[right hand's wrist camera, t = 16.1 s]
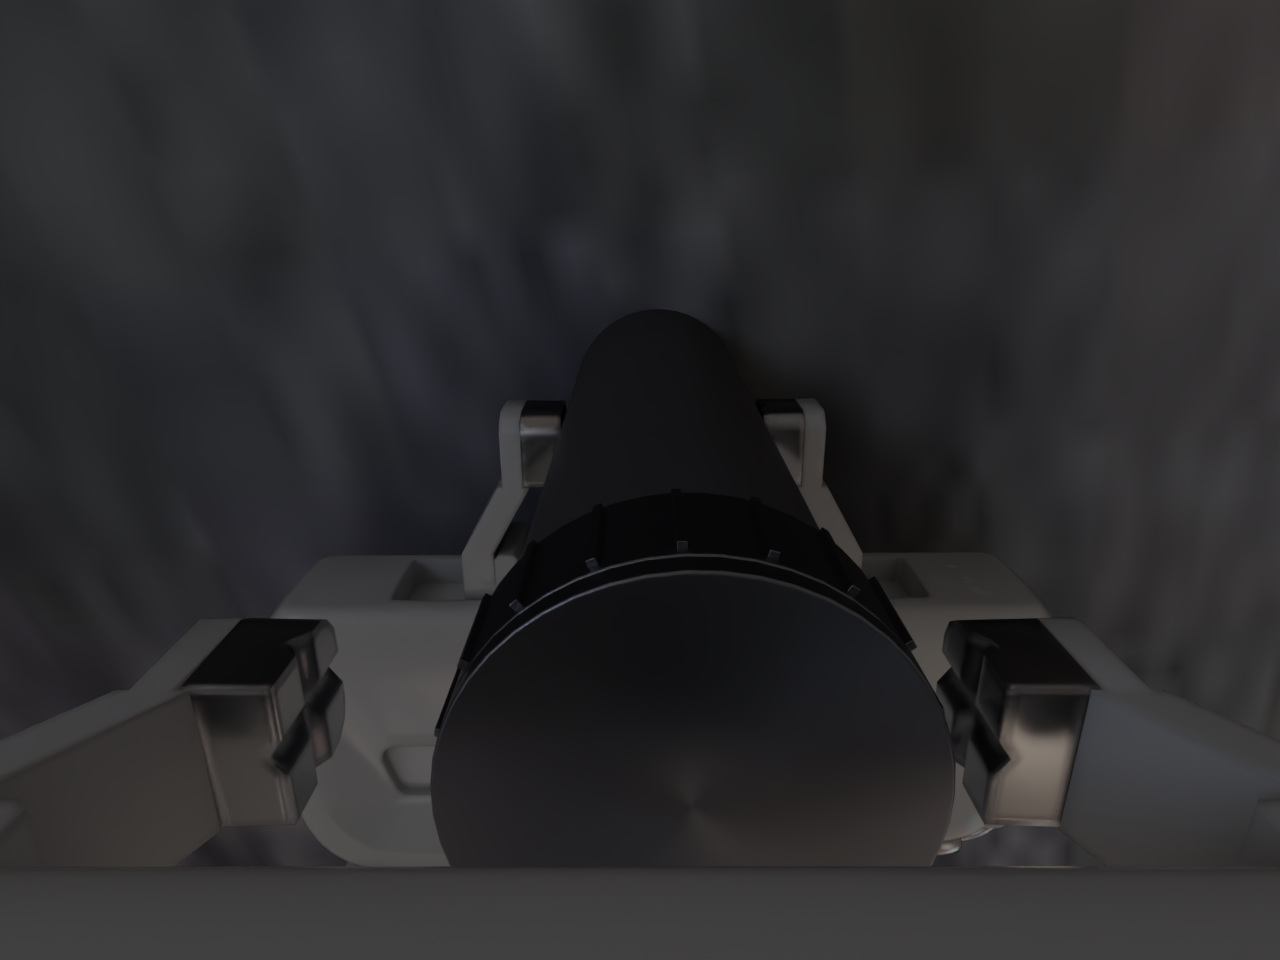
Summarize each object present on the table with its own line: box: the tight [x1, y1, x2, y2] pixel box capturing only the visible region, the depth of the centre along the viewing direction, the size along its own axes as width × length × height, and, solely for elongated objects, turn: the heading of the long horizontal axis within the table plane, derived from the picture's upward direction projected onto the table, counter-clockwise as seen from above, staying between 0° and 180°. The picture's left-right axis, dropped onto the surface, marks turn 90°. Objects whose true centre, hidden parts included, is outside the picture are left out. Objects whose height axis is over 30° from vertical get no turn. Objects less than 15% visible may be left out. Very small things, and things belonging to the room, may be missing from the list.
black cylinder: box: [521, 309, 820, 558], centre depth 17 cm, size 5×5×17 cm
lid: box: [430, 488, 956, 866], centre depth 9 cm, size 6×6×2 cm
